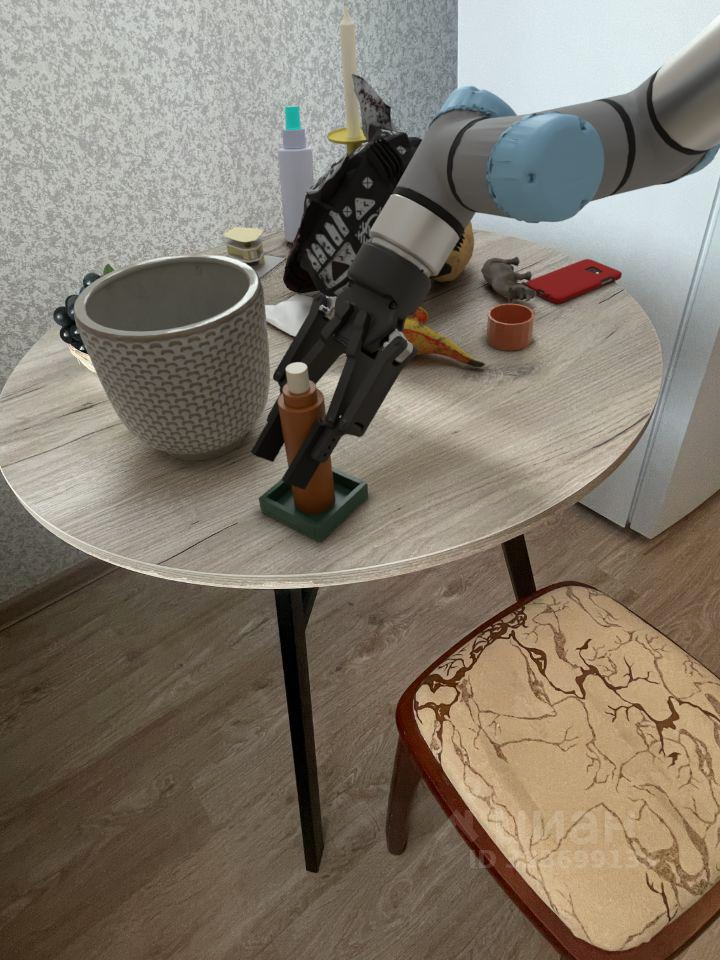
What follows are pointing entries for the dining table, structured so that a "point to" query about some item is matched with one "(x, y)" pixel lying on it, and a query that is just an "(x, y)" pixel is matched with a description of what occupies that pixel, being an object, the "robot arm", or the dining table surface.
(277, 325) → the cloth
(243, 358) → the planter
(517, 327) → the terracotta round cup
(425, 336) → the magic lamp
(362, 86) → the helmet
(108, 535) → the dining table surface
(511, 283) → the rhino figurine
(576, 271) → the cell phone
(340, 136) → the candle
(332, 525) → the tray
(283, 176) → the spray bottle
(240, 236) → the stacked layers on plate
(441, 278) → the potato
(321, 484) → the bottle
